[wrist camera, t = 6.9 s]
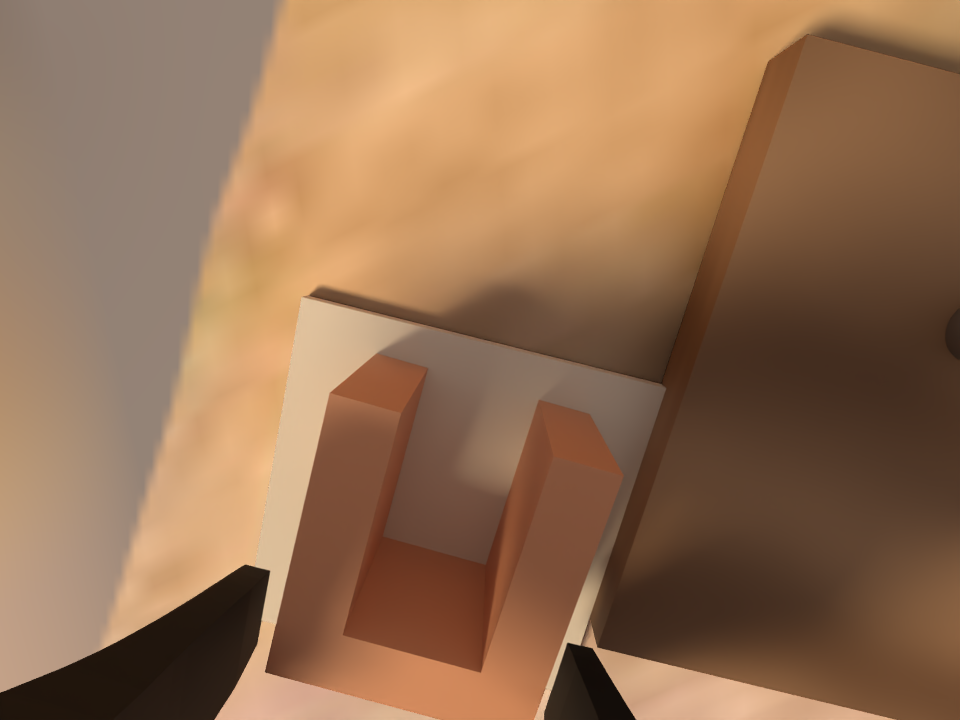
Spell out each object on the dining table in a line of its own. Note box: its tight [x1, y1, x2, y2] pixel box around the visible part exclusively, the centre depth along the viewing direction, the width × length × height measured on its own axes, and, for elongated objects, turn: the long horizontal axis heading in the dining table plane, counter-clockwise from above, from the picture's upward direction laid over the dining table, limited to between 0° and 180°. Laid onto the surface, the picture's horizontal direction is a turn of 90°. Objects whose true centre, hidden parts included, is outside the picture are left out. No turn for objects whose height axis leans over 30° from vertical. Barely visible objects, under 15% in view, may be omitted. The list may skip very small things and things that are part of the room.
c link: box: [265, 353, 624, 720], centre depth 12 cm, size 6×5×4 cm
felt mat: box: [255, 296, 666, 690], centre depth 14 cm, size 9×9×1 cm
